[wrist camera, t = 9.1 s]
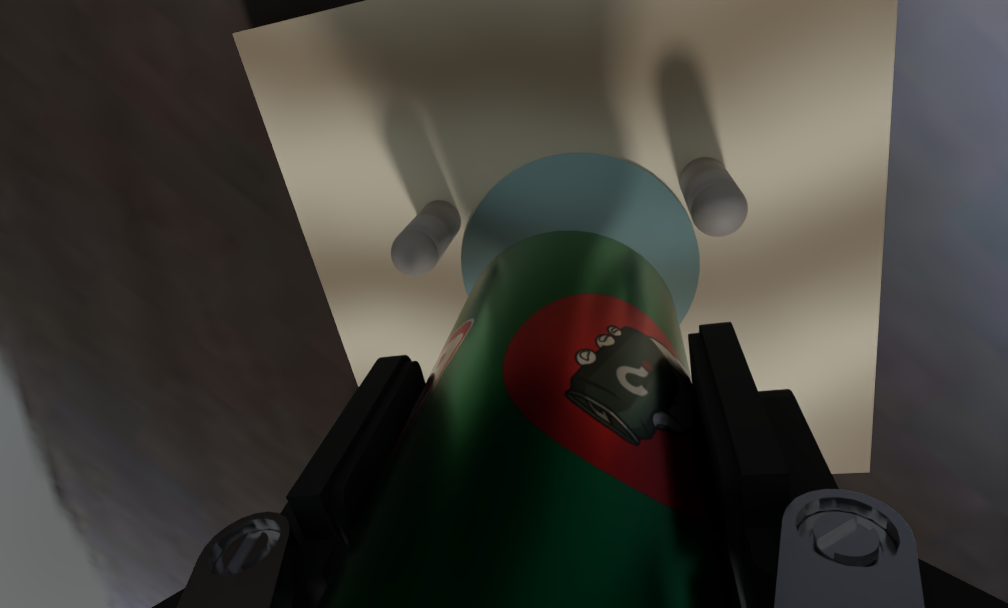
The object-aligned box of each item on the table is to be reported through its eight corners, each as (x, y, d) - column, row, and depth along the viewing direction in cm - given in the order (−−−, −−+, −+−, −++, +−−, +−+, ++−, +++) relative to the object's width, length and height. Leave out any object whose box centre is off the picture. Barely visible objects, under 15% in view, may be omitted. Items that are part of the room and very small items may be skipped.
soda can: (454, 231, 14) (27, 849, 4) (672, 211, 13) (909, 980, 3) (487, 405, 17) (269, 1115, 6) (677, 399, 16) (824, 1247, 5)
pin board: (261, 31, 17) (150, 39, 13) (877, -121, 14) (993, -176, 10) (408, 466, 24) (365, 563, 20) (852, 441, 20) (915, 554, 16)
